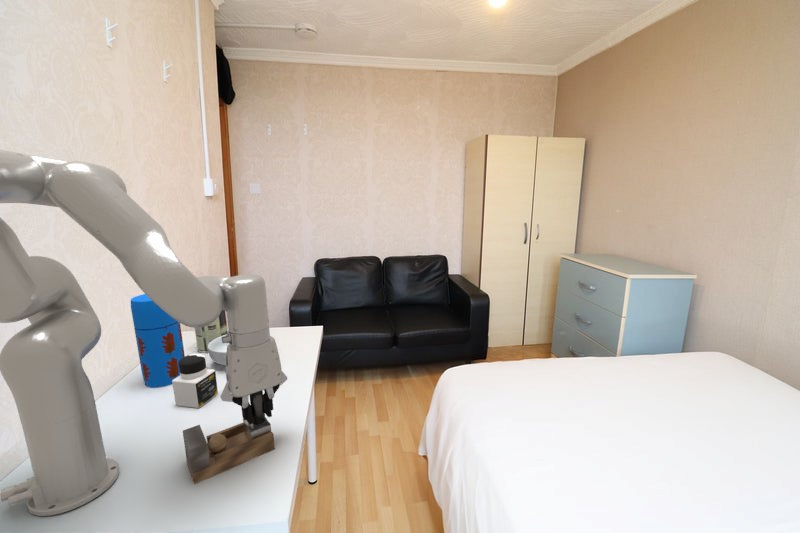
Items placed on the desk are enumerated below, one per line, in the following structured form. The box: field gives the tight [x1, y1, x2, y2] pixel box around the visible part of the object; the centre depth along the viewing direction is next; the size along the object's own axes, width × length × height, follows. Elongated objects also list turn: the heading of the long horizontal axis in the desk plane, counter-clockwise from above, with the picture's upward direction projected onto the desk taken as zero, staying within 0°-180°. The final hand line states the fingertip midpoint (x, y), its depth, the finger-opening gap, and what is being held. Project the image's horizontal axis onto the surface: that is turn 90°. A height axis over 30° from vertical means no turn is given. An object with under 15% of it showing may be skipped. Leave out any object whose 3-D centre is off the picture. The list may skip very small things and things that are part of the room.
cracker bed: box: [182, 422, 276, 485], centre depth 74 cm, size 15×8×7 cm, turn 128°
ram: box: [242, 390, 272, 440], centre depth 77 cm, size 4×6×10 cm
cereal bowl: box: [208, 335, 229, 366], centre depth 117 cm, size 17×17×7 cm
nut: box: [208, 434, 227, 453], centre depth 73 cm, size 3×3×3 cm
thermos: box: [130, 293, 185, 389], centre depth 105 cm, size 11×11×25 cm
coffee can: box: [194, 310, 229, 354], centre depth 128 cm, size 10×10×14 cm
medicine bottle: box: [171, 353, 219, 409], centre depth 94 cm, size 7×7×12 cm
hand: (258, 416), depth 77 cm, fingers open, 3 cm apart
